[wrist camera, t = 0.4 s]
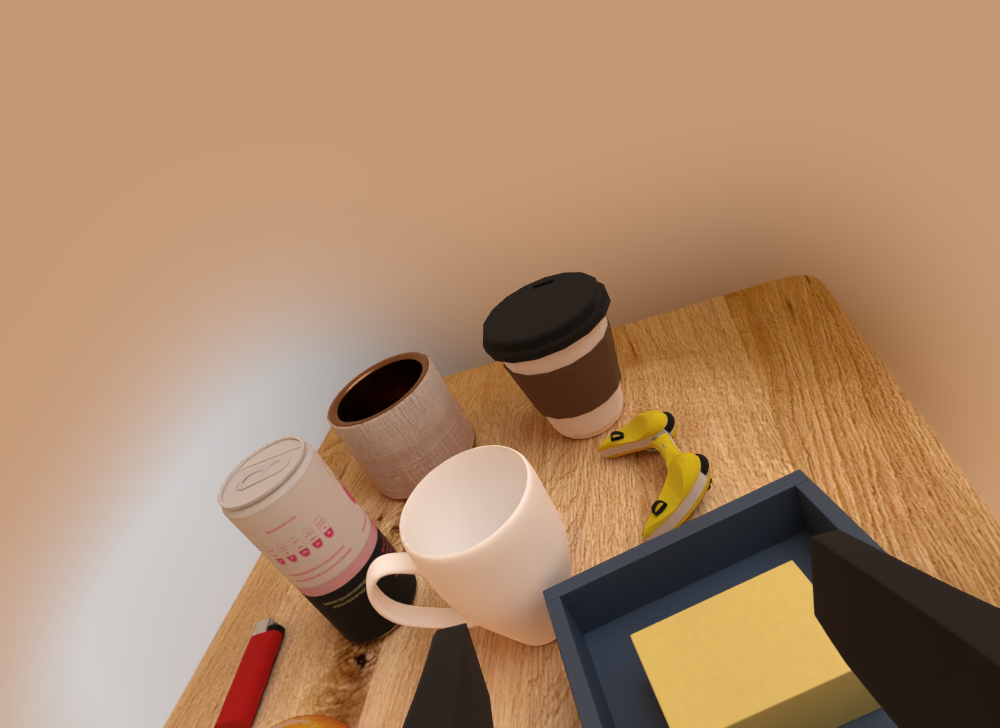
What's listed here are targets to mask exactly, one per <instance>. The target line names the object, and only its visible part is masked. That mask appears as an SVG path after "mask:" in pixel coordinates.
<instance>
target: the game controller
mask: <svg viewBox="0 0 1000 728" xmlns="http://www.w3.org/2000/svg"><path fill="white" fill-rule="evenodd" d="M676 432H677V427H676V424H675V420H674V417H673V415H672V414H670V413H668V412H661V411H654V410H653V411H647V412H644V413H642V414H639V415H637V416H636V417H635V418H633V419H632V420H631V421H630V422H629V423H628V424H627V425H626V426H624V427H623V428H622V429H620V430H619V431H614V432H612V433H611V436H609V437H608V438H607V439H605V440H604V441H603V442H602V443H601V445H600V446H599V448H598V452H599V453H601V454H602V455H603V456H605V457H606V458H615V457H619V456H622V455H625V454H629V453H633V452H637V451H642V450H646V449H647V451H659V453H660V454H661V455H662V457H663V459H664V461H665V463H666V467H667V471H668V474H667V477H666V481H665V484H664V486H663V489H662V491H661V494H660V496H659V498H658V500H657V501H656V502H655V503H654V504H653V506H652V512H651V514H650V516H649V518H648V521H647V522H646V524H645V526H644V530H643V539H645V540H646V541H649V540H651V539H653V538H655V537H658V536H660V535H662V534H664V533H666V532H668V531H670V530H672V529H674V528H677V527H679V526H681V525H682V524H683V523H684V522H685V521H686V520H687V518H688V517H689V516H690V515H691V514H692V512H693V511H694V510H695V509H696V507H697V506H698V505H699V503H700V502H701V500H702V499H703V497H704V495H705V493H706V491H707V490H709V489H710V487H711V486H710V484H711V482H712V479H711V473H710V469H709V463H708V460H707V458H706V457H705V456H703V455H701V454H694V453H691V452H685V453H682V452H681V451H680V450H679V449H678V447H677V446H676V444H675V442H674V441H673V438H674V437H675V435H676Z"/></svg>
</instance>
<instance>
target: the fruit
mask: <svg viewBox="0 0 1000 728" xmlns="http://www.w3.org/2000/svg"><path fill="white" fill-rule="evenodd" d="M271 728H350V727H349V726H347V725H346V724H344V723H342V722H340V721H337V720H335V719H332V718H330V717H326V716H321V715H304V716H297V717H293V718H291V719H288V720H285V721H282V722H280V723H278V724H276V725H274V726H273V727H271Z"/></svg>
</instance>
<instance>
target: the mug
mask: <svg viewBox="0 0 1000 728" xmlns="http://www.w3.org/2000/svg"><path fill="white" fill-rule="evenodd" d="M400 537H401V541H402V543H403V546H404V548H405V550H406V551H407V552H399V553H389V554H385V555H382V556H380V557H378V558H376V559H375V560H374V561H373V562H372V563H371V565H370V566H369V569H368V571H367V576H366V590H367V595H368V598H369V600H370V603H371V604H372V606H373V607H374V609H375V610H376V611H377V612H378V613H379V614H380V615H381V616H383V617H384V618H386V619H388V620H389V621H391V622H394V623H396V624H400V625H404V626H409V627H418V628H448V627H452V626H456V625H460V624H464V623H466V624H467V627H468V628H473V627H477V626H481V627H483V628H486V629H488V630H490V631H493V632H495V633H498V634H500V635H503V636H506V637H508V638H511V639H513V640H516V641H518V642H521V643H523V644H526V645H530V646H541V645H545V644H548V643H550V642H552V641H554V640H555V639H556V636H555V633H554V629H553V626H552V623H551V619H550V616H549V612H548V609H547V606H546V602H545V599H544V595H543V590H546V589H548V588H550V587H552V586H554V585H556V584H558V583H560V582H563V581H565V580H567V579H569V578H571V577H572V572H571V556H570V548H569V543H568V538H567V534H566V531H565V528H564V525H563V523H562V520H561V518H560V516H559V514H558V512H557V510H556V508H555V506H554V504H553V502H552V501H551V499H550V497H549V495H548V494H547V492H546V490H545V488H544V486H543V485H542V483H541V481H540V479H539V477H538V476H537V474H536V472H535V471H534V469H533V467H532V466H531V464H530V463H529V462H528V460H527V459H526V458H525V457H524V456H523V455H522V454H520V453H519V452H517V451H516V450H514V449H511V448H509V447H505V446H498V445H489V446H481V447H476V448H473V449H469V450H466V451H464V452H461V453H459V454H457V455H455V456H453V457H451V458H449V459H448V460H446V461H444V462H443V463H441V464H440V465H439V466H437V467H436V468H435V469H433V470H432V471H431V472H430V473H429V474H428V475H427V476H426V477H425V478H424V479H423V480H422V481H421V482H420V483H419V484H418V485H417V487H416V488H415V489H414V490H413V492H412V493H411V495H410V496H409V498H408V500H407V502H406V504H405V506H404V509H403V511H402V515H401V519H400ZM390 574H414V575H420V576H422V577H423V578H424V579H425V580H426V581H427V582H428V583H429V585H430V586H431V587H432V588H433V589H434V590H435V591H436V592H437V594H438V595H439V596H440V597H441V598H442V599H443V600H444V601H445V602H446V603H447V604H448V605H449V606H450V607H452V608H438V607H421V606H412V605H406V604H402V603H399V602H396V601H394V600H392V599H390V598H389V597H387V596H386V595H385V594H384V593H383V592H382V591H381V590H380V589H379V588H378V586H377V585H376V583H377V581H378V580H379V579H380V578H381V577H383V576H386V575H390Z"/></svg>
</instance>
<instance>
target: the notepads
mask: <svg viewBox="0 0 1000 728" xmlns="http://www.w3.org/2000/svg"><path fill="white" fill-rule="evenodd" d="M630 637H631V639H632V642H633V644H634V646H635V649H636V651H637V653H638V656H639V658H640V660H641V663H642V665H643V668H644V670H645V672H646V675H647V677H648V679H649V682H650V684H651V686H652V689H653V691H654V693H655V696H656V698H657V700H658V703H659V705H660V707H661V710H662V712H663V714H664V717H665V719H666V721H667V724H668V726H669V728H836V727H839V726H841V725H843V724H845V723H848V722H850V721H852V720H854V719H857V718H859V717H861V716H863V715H866V714H868V713H870V712H872V711H875V710H877V709H879V708H881V706H880V705H879V704H878V702H877V701H876V700H875V699H874V698H873V696H872V695H871V694H870V693H869V691H868V690H867V689H866V688H865V686H864V685H863V684H862V683H861V682H860V680H859V679H858V678H857V677H856V675H855V674H854V673H853V672H852V670H851V669H850V668H849V667H848V665H847V664H846V663H845V661H844V660H843V658H842V657H841V655H840V654H839V652H838V651H837V649H836V648H835V646H834V645H833V643H832V642H831V640H830V639H829V637H828V636H827V634H826V633H825V631H824V629H823V628H822V626H821V625H820V623H819V622H818V620H817V618H816V617H815V615H814V602H813V585H812V583H811V582H810V581H809V580H808V578H807V577H806V576H805V575H804V574H803V572H802V571H801V570H800V569H799V568H798V566H797V565H796V564H795V563H794V562H793V561H792V560H791V561H789V562H787V563H784V564H782V565H780V566H778V567H776V568H774V569H771V570H769V571H767V572H765V573H763V574H761V575H759V576H756V577H754V578H752V579H750V580H748V581H746V582H743V583H741V584H739V585H737V586H735V587H733V588H731V589H728V590H726V591H724V592H722V593H720V594H718V595H715V596H713V597H711V598H709V599H707V600H705V601H703V602H700V603H698V604H696V605H694V606H692V607H690V608H688V609H685V610H683V611H681V612H679V613H677V614H675V615H672V616H670V617H668V618H666V619H664V620H662V621H660V622H657V623H655V624H653V625H651V626H649V627H647V628H644V629H642V630H640V631H638V632H636V633H634V634H632V635H630Z"/></svg>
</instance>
